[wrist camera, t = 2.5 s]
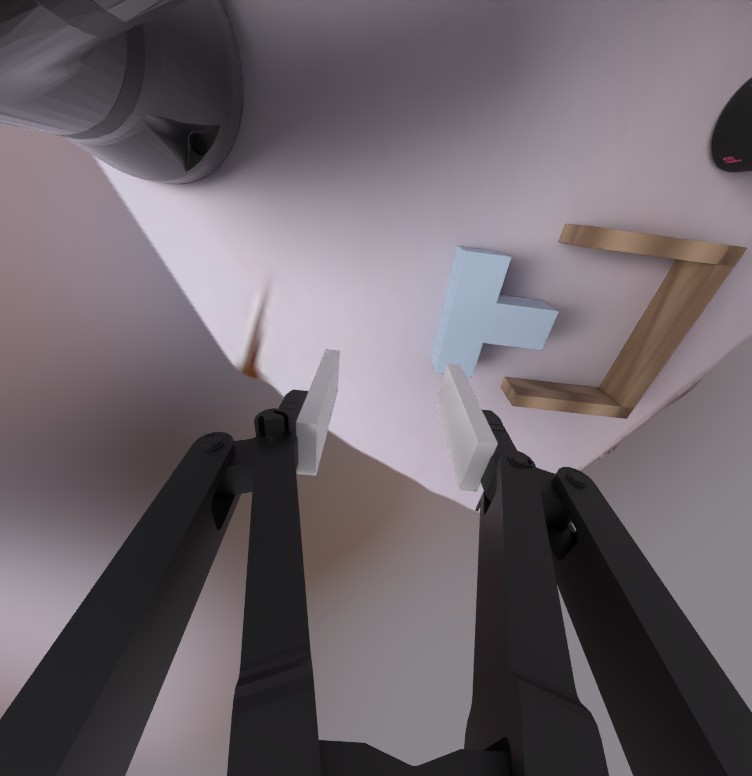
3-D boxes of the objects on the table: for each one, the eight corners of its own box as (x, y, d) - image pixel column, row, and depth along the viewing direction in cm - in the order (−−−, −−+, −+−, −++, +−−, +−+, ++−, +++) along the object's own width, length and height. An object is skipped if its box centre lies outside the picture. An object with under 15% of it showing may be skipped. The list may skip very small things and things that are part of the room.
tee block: (430, 356, 35) (435, 372, 32) (456, 245, 29) (465, 250, 25) (513, 367, 35) (526, 384, 32) (557, 259, 29) (579, 266, 26)
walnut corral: (500, 387, 37) (512, 405, 33) (565, 223, 27) (591, 226, 24) (604, 399, 37) (626, 418, 34) (703, 242, 28) (747, 247, 24)
